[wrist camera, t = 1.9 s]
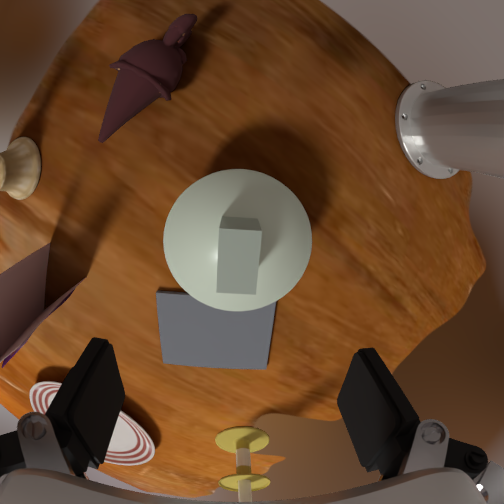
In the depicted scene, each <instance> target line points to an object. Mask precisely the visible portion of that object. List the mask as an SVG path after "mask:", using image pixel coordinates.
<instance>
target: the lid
mask: <svg viewBox="0 0 504 504" xmlns="http://www.w3.org/2000/svg"><path fill="white" fill-rule="evenodd" d="M163 242H164V252H165V257H166V261H167V263H168V266H169V269H170V271H171V273H172V274H173V276H174V278H175V279H176V281H177V282H178V283H179V285H180V286H181V287H182V288H183V289H184V290H185V291H186V292H187V293H188V294H190V295H191V296H192V297H193V298H195V299H196V300H198V301H200V302H202V303H204V304H206V305H208V306H211V307H213V308H216V309H221V310H226V311H249V310H254V309H258V308H262V307H264V306H267V305H269V304H271V303H273V302H275V301H277V300H279V299H280V298H282V297H283V296H284V295H286V294H287V293H288V292H289V291H290V290H291V289H292V288H293V287H294V286H295V285H296V284H297V282H298V281H299V279H300V278H301V277H302V275H303V273H304V271H305V269H306V267H307V264H308V261H309V258H310V254H311V247H312V232H311V227H310V222H309V219H308V216H307V213H306V211H305V209H304V207H303V205H302V204H301V202H300V201H299V200H298V198H297V197H296V196H295V195H294V194H293V192H292V191H291V190H290V189H288V188H287V187H286V186H285V185H284V184H282V183H281V182H279V181H278V180H276V179H274V178H273V177H271V176H268V175H266V174H264V173H261V172H257V171H253V170H247V169H229V170H222V171H219V172H215V173H212V174H210V175H207V176H205V177H203V178H201V179H200V180H198V181H197V182H195V183H193V184H192V185H191V186H190V187H189V188H187V189H186V190H185V191H184V192H183V193H182V194H181V195H180V197H179V198H178V199H177V201H176V202H175V203H174V205H173V207H172V209H171V211H170V213H169V215H168V218H167V221H166V224H165V229H164V240H163Z"/></svg>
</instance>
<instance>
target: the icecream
mask: <svg viewBox="0 0 504 504" xmlns="http://www.w3.org/2000/svg"><path fill="white" fill-rule="evenodd" d="M196 21H197V16H196V15H194V14H184V15H182V16H180V17H178V18H177V19H176V20H175V21H174V22H173V23H172V24H171V25H170V26H169V30H168V31H167V32H166V34H165V36H164V38H163V41H161V40H155V39H153V40H148V41H144V42H142V43H140V44H138V45H136V46H134V47H133V48H131V49H130V50H129V51H127V52H126V53H124V54H123V55H122V56H121V57H120V59H119V61H117V62H115V63H112V64H110V68H115V69H116V70H118V71H119V72H118V75H117V78H116V81H115V84H114V86H113V89H112V93H111V96H110V99H109V102H108V105H107V109H106V112H105V116H104V119H103V123H102V127H101V130H100V134H99V139H98V141H99V142H102V143H103V142H104V141H105V140H107V139H108V138H109V137H110V136H111V135H112V134H113V133H114V132H116V131H117V130H118V129H119V128H120V127H121V126H122V125H124V124H125V123H126V122H127V121H129V120H130V119H131V118H132V117H134V116H135V115H136V114H137V113H139V112H140V111H141V110H142V109H144V108H145V107H146V106H148V105H149V104H150V103H152V102H153V101H154V100H156V99H157V98H159V97H160V98H162V97H164V98H165V99H166V101H167V100H171V94H170V93H171V92H172V91H173V90H174V89H175V87H176V86H177V84H178V82H179V81H180V78H181V74H182V70H183V69H182V65H183V64H184V63H185V62H186V61H187V58H186V54H185V52H184V51H183V50H182V49H181V48H180V47H181V46H182V45H183V44H184V43H185V41H186V40H187V39H188V38H189V36H190V35H191V32H192V31H191V28H192V27H193V26H194V24H195V23H196Z"/></svg>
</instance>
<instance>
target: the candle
mask: <svg viewBox="0 0 504 504" xmlns="http://www.w3.org/2000/svg"><path fill="white" fill-rule="evenodd" d="M215 441H216V444H217V445H218V446H219V447H220V448H221V449H223V450H226V451H228V452H233V453H236V470H237V474H233V475H228V476H225V477H223V478H221V479H220V480H219V482H218V483H219V486H220V487H222V488H224V489H227V490H230V491H237V492H239V502H252V491H256V490H260V489H263V488H265V487H267V486H268V485H270V479H269V478H267V477H266V476H263V475H260V474H251V461H250V453H251V452H255V451H258V450H260V449H262V448H264V447H265V446H266V445H267V444H268V443H269V435H268V434H267V433H266V432H265V431H263V430H260V429H258V428H253V427H247V426H246V427H233V428H229V429H225V430H223V431H221V432H220V433H218V434H217V436H216V438H215Z"/></svg>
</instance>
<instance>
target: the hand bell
mask: <svg viewBox="0 0 504 504" xmlns="http://www.w3.org/2000/svg"><path fill="white" fill-rule="evenodd" d="M40 172H41V158H40V153H39V150H38V147H37V146H36V144H35V143H34V141H33V140H32V139H30V138H28V137H20V138H18V139H16V140H15V141H13V142H12V143H11V144H10V145H9V147H8V148H7V150H6V151H4V152H2V153H0V191H7V193H8V194H9V195H10V196H12V197H13V198H15V199H19V200H22V199H25V198H27V197H29V196H30V195H31V194H32V193H33V191H34V190H35V188H36V186H37V184H38V181H39V177H40Z"/></svg>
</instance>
